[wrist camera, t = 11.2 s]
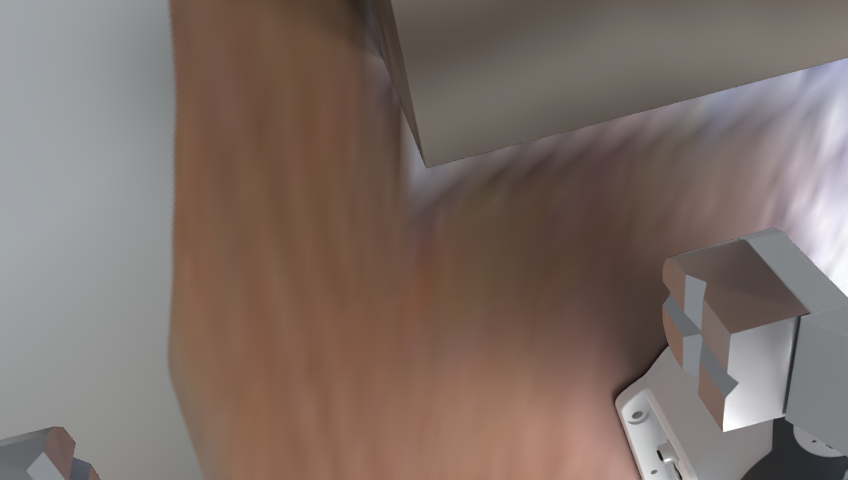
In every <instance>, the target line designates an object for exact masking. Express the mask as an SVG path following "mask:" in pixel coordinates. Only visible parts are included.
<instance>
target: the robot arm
mask: <svg viewBox="0 0 848 480" xmlns="http://www.w3.org/2000/svg"><path fill="white" fill-rule="evenodd" d="M663 282H664V284H665V285H666V287H667V288H668V290H669V291H670V293H671V294H670V295H669V297H668V298H667V300H666V301H665V302H664V304H663V305H662V311H663V326H664V330H665V334H666V338H667V342H668V344H669V346H668V347H667V348H666V349H665V350H664V351H663V352H662V354H661V355H660V356H659V357H658V359H657V360H656V361H655V363H654V364H653V365H652V367H651V368H650V369H649V370H648V372H647V373H646V374H645V375H644V376H643V377H641V378H640V379H638V380H637V381H636V382H634V383H633V384H632V385H630V386H629V387H628V388H626V389H625V390H624V391H623V392H622V393H621V394H620V395H619V396H618V397H617V399H616V401H615V406H616V409H617V412H618V414H619V417H620V420H621V423H622V425H623V428H624V431H625V434H626V437H627V439H628V442H629V445H630V448H631V450H632V453H633V456H634V459H635V461H636V464H637V467H638V470H639V472H640V475H641V478H642V480H848V297H847V296H846V295H845V294H844V293H843V292H842V291H841V290H840V289H839V288H838V287H837V286H836V285H835V284H834V283H833V282H832V281H831V280H830V279H829V278H828V277H827V276H826V275H825V274H824V273H823V272H822V271H821V270H820V269H819V268H818V267H817V266H816V265H815V264H814V263H813V262H812V261H811V260H810V259H809V258H808V257H807V256H806V255H805V254H804V253H803V252H802V251H801V250H800V249H799V248H798V247H797V246H796V245H795V244H794V243H793V242H792V241H791V240H790V239H789V238H788V237H787V236H786V235H785V234H784V233H783V232H782V231H781V230H779V229H776V228H774V227H773V228H769V229H766V230H762V231H759V232H755V233H752V234H748V235H745V236H742V237H738V238H737V239H732V240H729V241H725V242H721V243H718V244H714V245H711V246H707V247H704V248H700V249H697V250H693V251H690V252H686V253H683V254H679V255H676V256H672V257H669V258H666V260H665V263H664V265H663ZM75 444H76V443H75V441H74V440H73V439H72V438H71V436H70V435H69V434H68V432H67V431H66V430H65V429H64V428H63V427H50V428H46V429H42V430H38V431H34V432H30V433H26V434H22V435H18V436H14V437H10V438H6V439H2V440H0V480H100V478H99V475H98V474H97V473H96V471H95V470H94V468H93V467H92V466H91V464H89V463H87V462H84V461H81V460H79V459H76V458H74V457H73V454H74V449H75Z"/></svg>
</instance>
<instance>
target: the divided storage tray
mask: <svg viewBox="0 0 848 480" xmlns="http://www.w3.org/2000/svg"><path fill="white" fill-rule="evenodd" d="M370 1H371V6H372V10H373V15H374V19H375V24H376V28H377V32H378V37H379V41H380V46H381V50H382V55H383V59H384V62H385V65H386V67H387V70H388V72H389V75H390V78H391V80H392V83H393V85H394V88H395V90H396V93H397V95H398V98H399V101H400V103H401V106H402V108H403V111H404V113H405V116H406V118H407V121H408V124H409V126H410V129H411V131H412V134H413V136H414V139H415V141H416V144H417V147H418V149H419V152H420V154H421V157H422V159H423V162H424V164H425V167H426V168H429V167H433V166H437V165H441V164H444V163H448V162H452V161H456V160H460V159H463V158H467V157H471V156H475V155H479V154H483V153H486V152H490V151H494V150H498V149H502V148H505V147H509V146H513V145H517V144H521V143H524V142H528V141H532V140H536V139H540V138H543V137H547V136H551V135H555V134H559V133H563V132H566V131H570V130H574V129H578V128H582V127H585V126H589V125H593V124H597V123H601V122H604V121H608V120H612V119H616V118H620V117H623V116H627V115H631V114H635V113H639V112H643V111H646V110H650V109H654V108H658V107H662V106H665V105H669V104H673V103H677V102H681V101H684V100H688V99H692V98H696V97H700V96H703V95H707V94H711V93H715V92H719V91H723V90H726V89H730V88H734V87H738V86H742V85H745V84H749V83H753V82H757V81H761V80H764V79H768V78H772V77H776V76H780V75H783V74H787V73H791V72H795V71H799V70H803V69H806V68H810V67H814V66H818V65H822V64H825V63H829V62H833V61H837V60H841V59H844V58H848V0H370Z"/></svg>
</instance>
